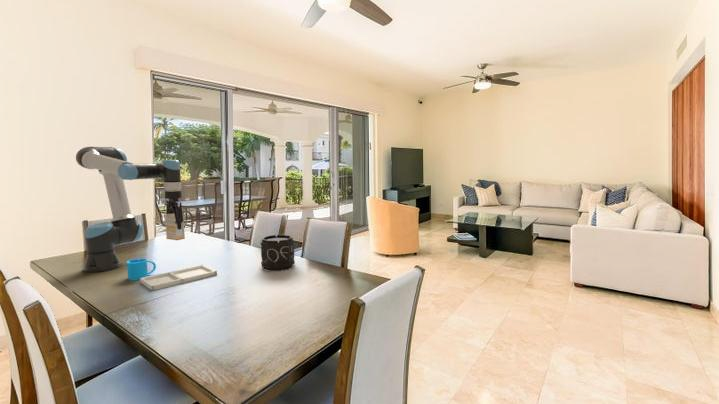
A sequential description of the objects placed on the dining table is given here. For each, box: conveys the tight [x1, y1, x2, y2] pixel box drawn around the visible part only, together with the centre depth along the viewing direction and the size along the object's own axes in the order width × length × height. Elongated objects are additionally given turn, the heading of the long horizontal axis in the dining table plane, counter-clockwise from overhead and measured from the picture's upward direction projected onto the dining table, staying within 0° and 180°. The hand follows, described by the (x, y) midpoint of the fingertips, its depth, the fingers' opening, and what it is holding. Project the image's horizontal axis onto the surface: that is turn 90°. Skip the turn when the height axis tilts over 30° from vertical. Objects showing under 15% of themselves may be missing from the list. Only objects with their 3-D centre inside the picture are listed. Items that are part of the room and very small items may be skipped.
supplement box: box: [164, 213, 186, 241], centre depth 180 cm, size 8×5×13 cm, turn 65°
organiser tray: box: [139, 264, 218, 292], centre depth 168 cm, size 16×29×2 cm, turn 137°
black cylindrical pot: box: [260, 234, 296, 272], centre depth 185 cm, size 18×18×16 cm
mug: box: [126, 258, 157, 281], centre depth 171 cm, size 12×8×8 cm
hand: (175, 234), depth 180 cm, fingers closed on supplement box, 9 cm apart
